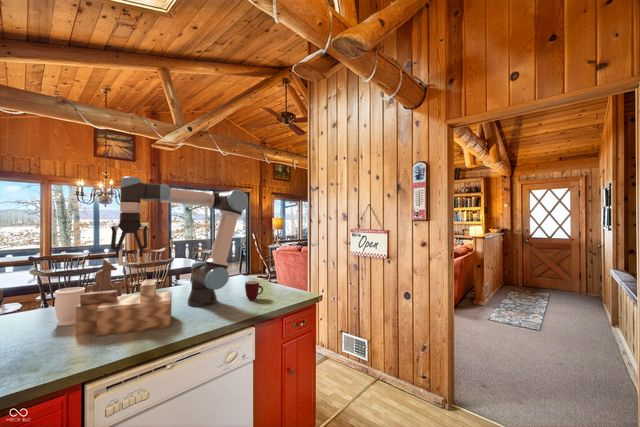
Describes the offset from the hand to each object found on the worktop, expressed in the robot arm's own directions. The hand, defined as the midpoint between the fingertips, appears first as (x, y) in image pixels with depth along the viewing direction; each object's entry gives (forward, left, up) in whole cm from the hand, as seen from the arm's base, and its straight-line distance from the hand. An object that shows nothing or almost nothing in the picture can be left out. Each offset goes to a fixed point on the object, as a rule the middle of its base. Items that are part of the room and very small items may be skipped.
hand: (129, 264), depth 128 cm
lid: (-3, 0, -17) cm, 17 cm away
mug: (-59, -21, -27) cm, 69 cm away
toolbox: (0, 0, -27) cm, 27 cm away
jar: (+25, -15, -27) cm, 39 cm away
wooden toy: (+17, -37, -27) cm, 49 cm away
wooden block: (+11, 0, -15) cm, 18 cm away
